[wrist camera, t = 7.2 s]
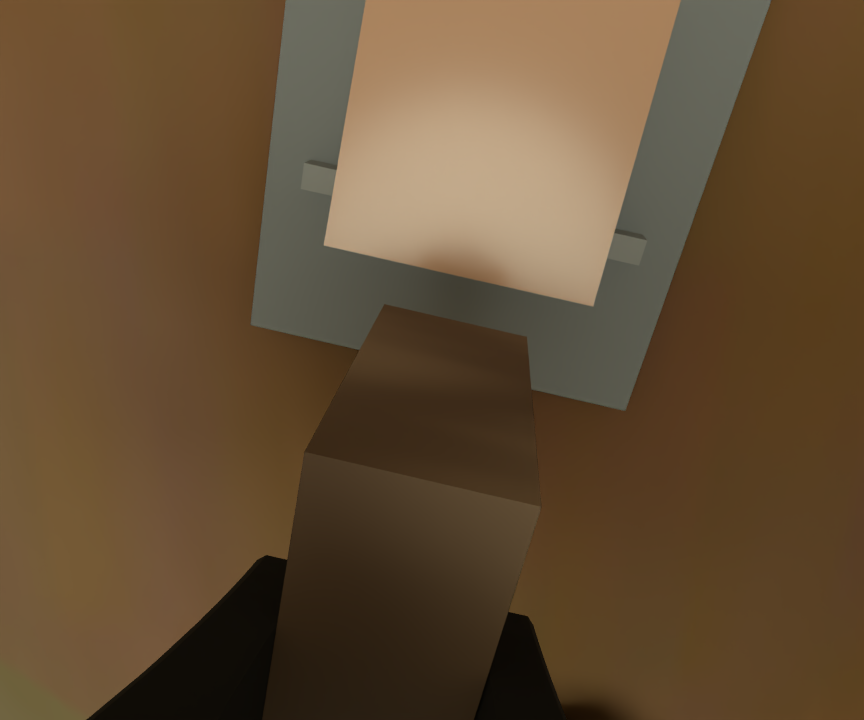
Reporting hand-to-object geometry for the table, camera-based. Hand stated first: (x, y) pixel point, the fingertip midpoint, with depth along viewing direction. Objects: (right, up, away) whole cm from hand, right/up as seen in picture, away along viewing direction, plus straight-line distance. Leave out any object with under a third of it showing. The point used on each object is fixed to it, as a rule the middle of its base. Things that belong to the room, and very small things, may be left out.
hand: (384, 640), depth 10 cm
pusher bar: (0, +1, +3) cm, 3 cm away
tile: (+1, +6, +6) cm, 9 cm away
